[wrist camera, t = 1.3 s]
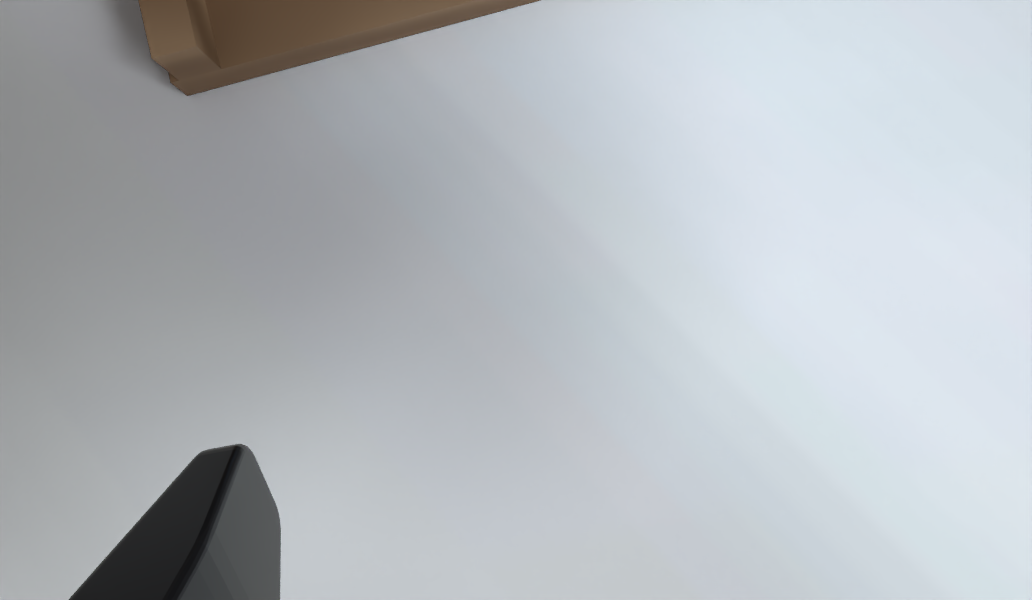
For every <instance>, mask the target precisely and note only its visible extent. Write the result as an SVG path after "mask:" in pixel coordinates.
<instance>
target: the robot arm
mask: <svg viewBox="0 0 1032 600" xmlns="http://www.w3.org/2000/svg"><path fill="white" fill-rule="evenodd" d="M280 556H281V527H280V518H279V513H278V509H277V506H276V503H275V501H274V499H273V497H272V494H271V492H270V490H269V488H268V485H267V483H266V481H265V479H264V476H263V474H262V472H261V469H260V467H259V465H258V463H257V460H256V458H255V456H254V454H253V452H252V451H251V450H250V449H249V448H248V447H247V446H245V445H242V444H236V445H230V446H224V447H219V448H213V449H208V450H205V451H202V452H201V453H199V454H198V455H197V456H196V457H195V458H194V459H193V460H192V461H191V462H190V463H189V464H188V466H187V467H186V468H185V469H184V470H183V471H182V472H181V473H180V475H179V476H178V477H177V478H176V479H175V480H174V481H173V482H172V484H171V485H170V486H169V487H168V488H167V489H166V490H165V492H164V493H163V494H162V495H161V496H160V497H159V498H158V499H157V501H156V502H155V503H154V504H153V505H152V506H151V507H150V508H149V510H148V511H147V512H146V513H145V514H144V515H143V516H142V517H141V519H140V520H139V521H138V522H137V523H136V524H135V525H134V526H133V528H132V529H131V530H130V531H129V532H128V533H127V534H126V535H125V537H124V538H123V539H122V540H121V541H120V542H119V543H118V544H117V546H116V547H115V548H114V549H113V550H112V551H111V552H110V553H109V555H108V556H107V557H106V558H105V559H104V560H103V561H102V562H101V564H100V565H99V566H98V567H97V568H96V569H95V570H94V572H93V573H92V574H91V575H90V576H89V577H88V578H87V579H86V581H85V582H84V583H83V584H82V585H81V586H80V587H79V588H78V590H77V591H76V592H75V593H74V594H73V595H72V596H71V597H70V599H69V600H280Z"/></svg>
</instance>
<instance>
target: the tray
mask: <svg viewBox="0 0 1032 600" xmlns="http://www.w3.org/2000/svg"><path fill="white" fill-rule="evenodd" d="M138 1H139V5H140V9H141V14H142V18H143V23H144V27H145V31H146V36H147V40H148V45H149V49H150V54H151V58H152V59H153V60H154V61H155V62H157V63H158V64H159V65H160V66H162V67H163V68H164V69H165V70H167V71H168V73H169V77H170V82H171V83H172V84H173V85H174V86H175V87H177V88H178V89H179V90H181V91H182V92H183V93H184V94H186V95H187V96H189V95H193V94H196V93H200V92H204V91H207V90H211V89H215V88H218V87H222V86H226V85H230V84H233V83H237V82H241V81H244V80H248V79H252V78H255V77H259V76H263V75H266V74H270V73H274V72H278V71H281V70H285V69H289V68H292V67H296V66H300V65H303V64H307V63H311V62H314V61H318V60H322V59H326V58H329V57H333V56H337V55H340V54H344V53H348V52H351V51H355V50H359V49H362V48H366V47H370V46H373V45H377V44H381V43H385V42H388V41H392V40H396V39H399V38H403V37H407V36H410V35H414V34H418V33H421V32H425V31H429V30H433V29H436V28H440V27H444V26H447V25H451V24H455V23H458V22H462V21H466V20H469V19H473V18H477V17H480V16H484V15H488V14H492V13H495V12H499V11H503V10H506V9H510V8H514V7H517V6H521V5H525V4H528V3H532V2H536V1H540V0H138Z"/></svg>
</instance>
